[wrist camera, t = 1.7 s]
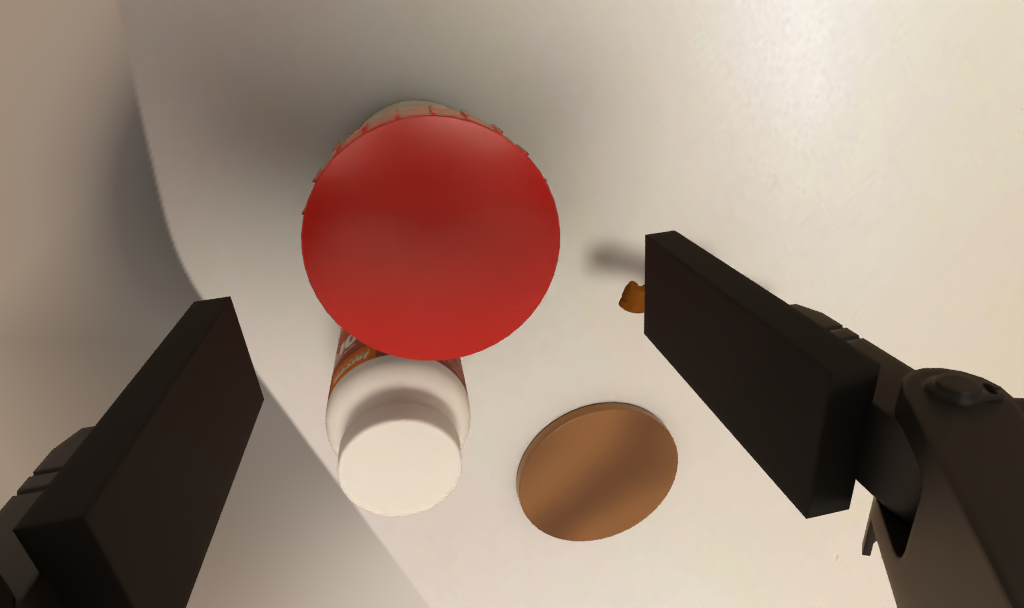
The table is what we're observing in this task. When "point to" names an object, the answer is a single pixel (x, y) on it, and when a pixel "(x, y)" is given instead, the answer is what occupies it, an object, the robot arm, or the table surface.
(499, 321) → the cap
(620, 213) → the table surface
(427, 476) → the pill bottle
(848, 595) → the table surface
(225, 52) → the table surface
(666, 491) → the coaster
